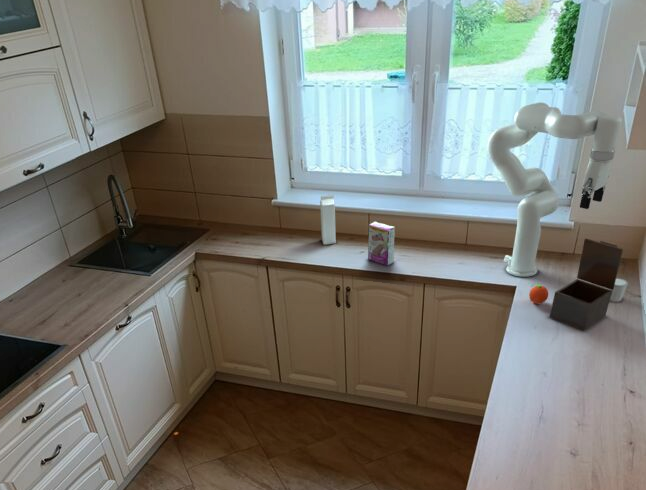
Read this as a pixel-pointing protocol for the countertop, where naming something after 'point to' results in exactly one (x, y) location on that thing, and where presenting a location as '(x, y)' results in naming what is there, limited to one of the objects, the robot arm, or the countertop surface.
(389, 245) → the candy bar box
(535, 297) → the clementine
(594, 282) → the lid
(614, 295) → the shot glass
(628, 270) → the countertop surface
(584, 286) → the chest
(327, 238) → the milk
